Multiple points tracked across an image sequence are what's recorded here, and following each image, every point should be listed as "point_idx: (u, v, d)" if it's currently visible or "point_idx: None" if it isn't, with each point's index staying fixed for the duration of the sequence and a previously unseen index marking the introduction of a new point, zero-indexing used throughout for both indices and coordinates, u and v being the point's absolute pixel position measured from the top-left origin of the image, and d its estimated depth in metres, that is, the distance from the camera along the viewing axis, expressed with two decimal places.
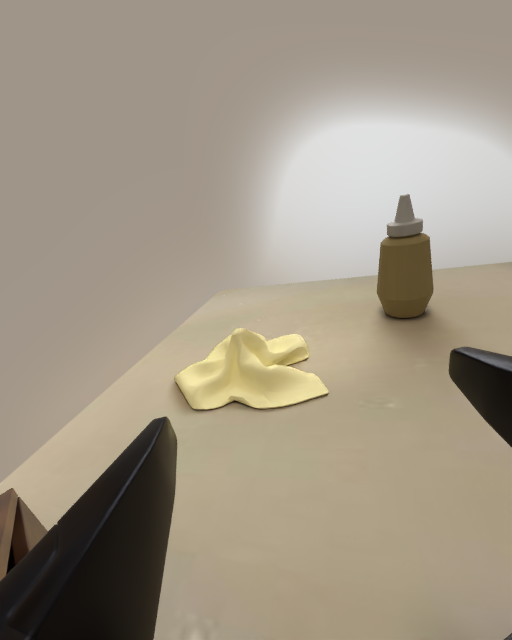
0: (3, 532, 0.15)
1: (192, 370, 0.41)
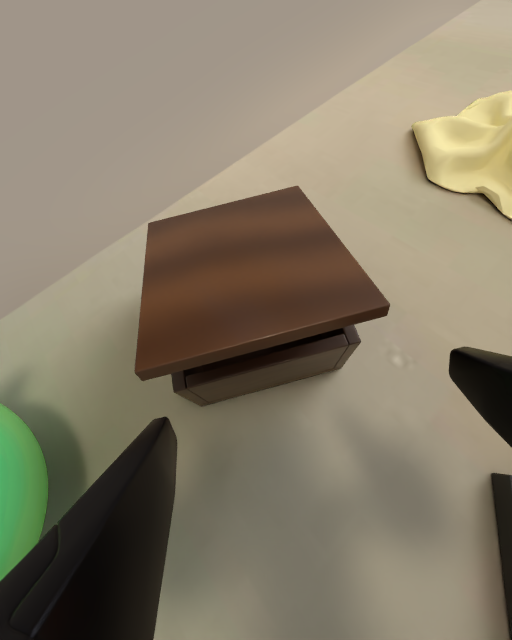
0: None
1: (443, 125, 0.31)
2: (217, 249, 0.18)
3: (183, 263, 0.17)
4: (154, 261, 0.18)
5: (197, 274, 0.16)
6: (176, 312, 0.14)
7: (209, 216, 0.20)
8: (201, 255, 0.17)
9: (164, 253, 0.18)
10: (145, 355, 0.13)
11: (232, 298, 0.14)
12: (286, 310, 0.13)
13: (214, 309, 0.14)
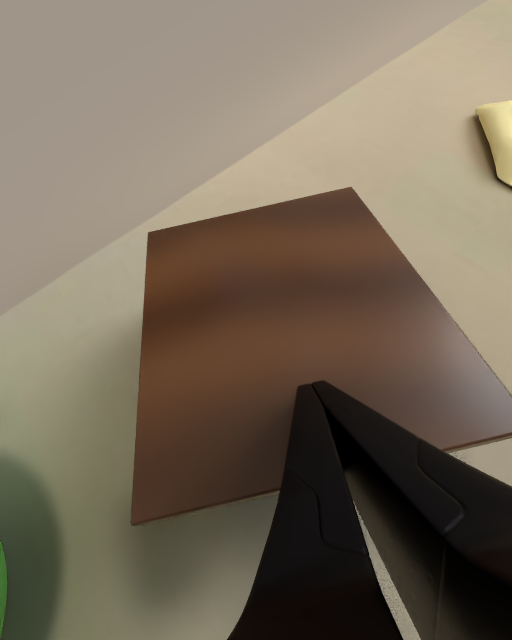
0: (416, 272, 0.12)
1: None
2: (247, 288, 0.12)
3: (199, 309, 0.12)
4: (157, 301, 0.13)
5: (220, 332, 0.11)
6: (192, 404, 0.10)
7: (231, 228, 0.15)
8: (224, 296, 0.12)
9: (171, 288, 0.13)
10: (147, 489, 0.08)
11: (277, 385, 0.10)
12: None
13: (251, 404, 0.09)
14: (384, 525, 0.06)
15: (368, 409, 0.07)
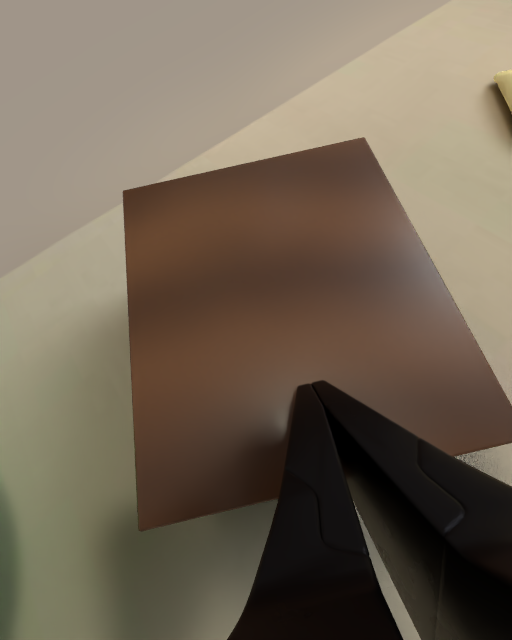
0: (430, 258, 0.11)
1: None
2: (243, 272, 0.11)
3: (191, 296, 0.11)
4: (143, 285, 0.11)
5: (215, 326, 0.10)
6: (190, 409, 0.09)
7: (223, 190, 0.13)
8: (218, 282, 0.11)
9: (157, 268, 0.11)
10: (151, 497, 0.08)
11: (278, 389, 0.09)
12: None
13: (251, 410, 0.09)
14: (384, 525, 0.06)
15: (368, 408, 0.07)
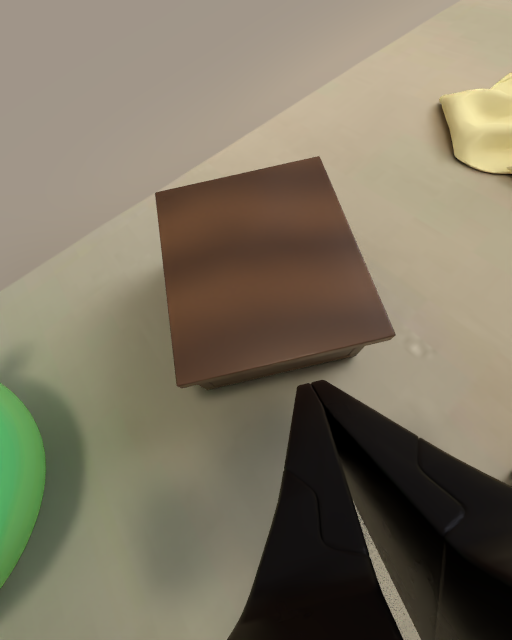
0: None
1: (474, 99, 0.29)
2: (236, 245, 0.17)
3: (203, 261, 0.17)
4: (172, 254, 0.18)
5: (219, 278, 0.17)
6: (204, 324, 0.16)
7: (223, 192, 0.19)
8: (220, 252, 0.17)
9: (181, 244, 0.18)
10: (183, 369, 0.15)
11: (256, 312, 0.16)
12: (306, 332, 0.15)
13: (240, 324, 0.16)
14: (384, 525, 0.06)
15: (367, 409, 0.07)
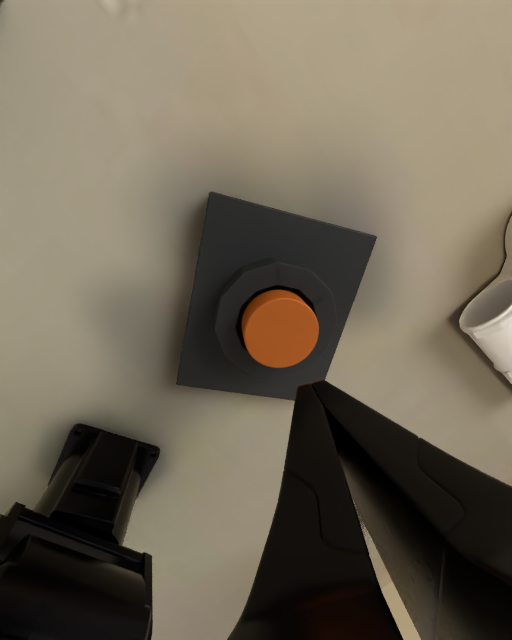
0: None
1: None
2: None
3: None
4: None
5: None
6: None
7: None
8: None
9: None
10: None
11: None
12: None
13: None
14: (384, 525, 0.06)
15: (368, 409, 0.07)
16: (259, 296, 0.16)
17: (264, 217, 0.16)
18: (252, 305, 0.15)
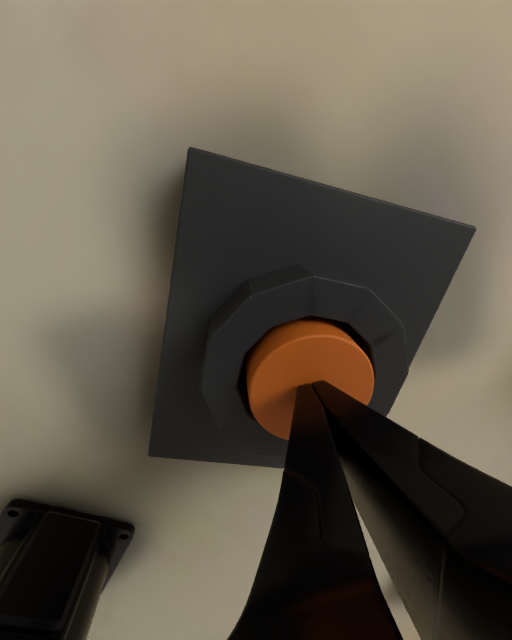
0: None
1: None
2: None
3: None
4: None
5: None
6: None
7: None
8: None
9: None
10: None
11: None
12: None
13: None
14: (384, 525, 0.06)
15: (368, 409, 0.07)
16: None
17: (286, 194, 0.09)
18: (263, 341, 0.09)
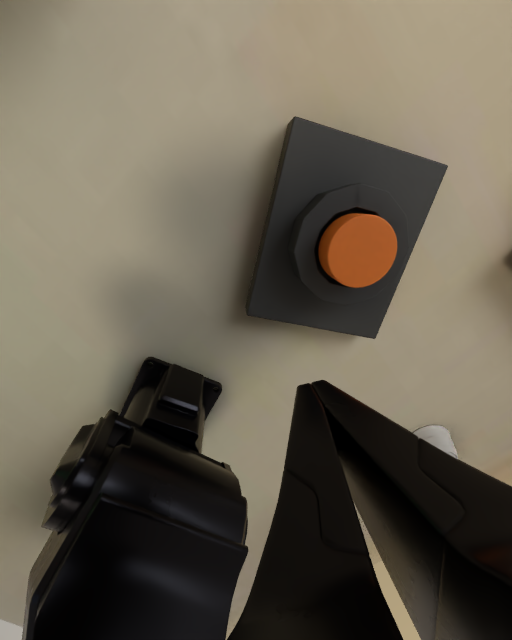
0: None
1: None
2: None
3: None
4: None
5: None
6: None
7: None
8: None
9: None
10: None
11: None
12: None
13: None
14: (384, 525, 0.06)
15: (368, 409, 0.07)
16: (338, 218, 0.16)
17: (343, 143, 0.16)
18: (333, 225, 0.16)
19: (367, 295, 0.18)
